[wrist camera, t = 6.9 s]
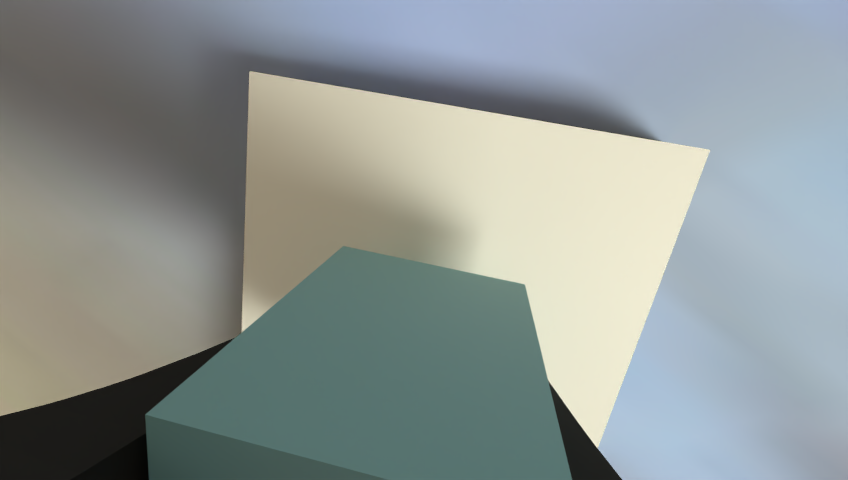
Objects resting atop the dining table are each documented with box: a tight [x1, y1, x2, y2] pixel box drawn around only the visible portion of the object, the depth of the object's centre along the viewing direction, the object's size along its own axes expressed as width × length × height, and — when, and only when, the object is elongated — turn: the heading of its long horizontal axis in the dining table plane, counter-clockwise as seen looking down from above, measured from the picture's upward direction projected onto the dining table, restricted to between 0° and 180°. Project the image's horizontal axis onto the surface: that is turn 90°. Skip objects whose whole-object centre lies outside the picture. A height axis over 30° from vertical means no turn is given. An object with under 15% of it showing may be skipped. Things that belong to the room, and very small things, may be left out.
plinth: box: [241, 71, 710, 448], centre depth 13 cm, size 12×12×2 cm
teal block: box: [145, 246, 572, 480], centre depth 7 cm, size 4×4×6 cm
